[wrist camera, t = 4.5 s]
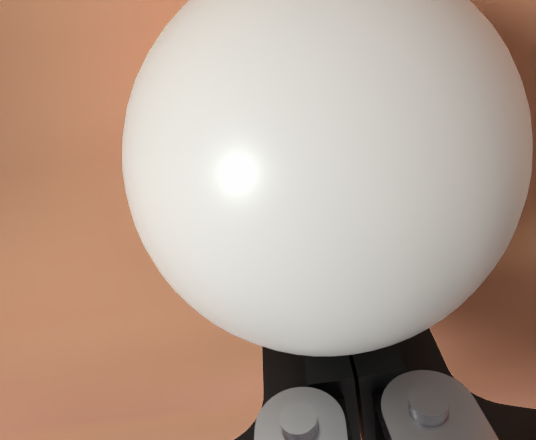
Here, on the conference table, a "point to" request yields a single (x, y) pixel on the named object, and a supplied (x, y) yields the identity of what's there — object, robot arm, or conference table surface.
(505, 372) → the conference table surface
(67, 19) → the conference table surface
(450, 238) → the white cue ball
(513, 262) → the conference table surface
